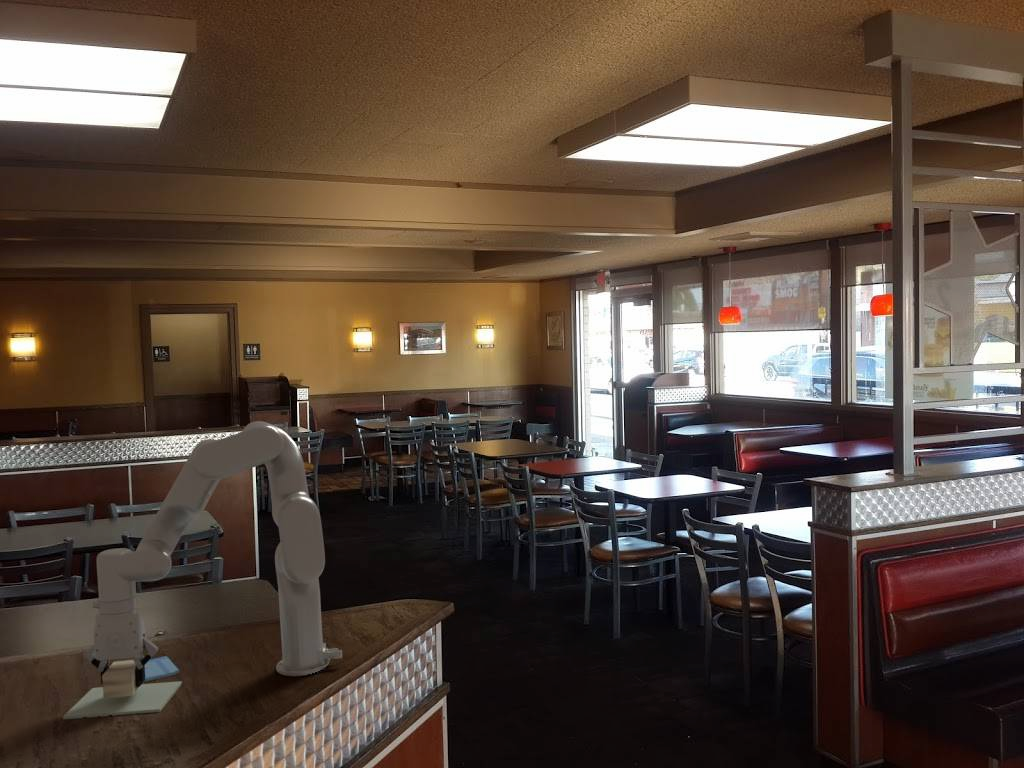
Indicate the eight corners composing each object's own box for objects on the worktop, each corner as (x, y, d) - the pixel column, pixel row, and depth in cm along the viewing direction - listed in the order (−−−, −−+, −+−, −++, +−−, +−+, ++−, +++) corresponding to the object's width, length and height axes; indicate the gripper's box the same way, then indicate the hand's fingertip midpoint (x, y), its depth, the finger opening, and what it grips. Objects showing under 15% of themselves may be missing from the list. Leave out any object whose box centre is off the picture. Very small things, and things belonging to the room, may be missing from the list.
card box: (132, 695, 195) (131, 672, 195) (103, 698, 194) (102, 675, 194) (143, 680, 204) (141, 658, 204) (115, 683, 203) (113, 661, 203)
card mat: (181, 683, 208) (181, 681, 208) (160, 711, 192) (159, 709, 192) (92, 690, 207) (92, 687, 206) (63, 719, 191) (62, 716, 191)
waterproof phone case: (179, 675, 215) (179, 670, 215) (126, 688, 208) (125, 683, 208) (166, 660, 226) (166, 655, 226) (115, 672, 219) (115, 667, 219)
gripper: (70, 613, 194) (76, 695, 195) (153, 608, 195) (158, 689, 196) (84, 603, 201) (90, 682, 202) (164, 598, 203) (169, 677, 203)
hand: (123, 685), depth 199 cm, fingers closed on card box, 6 cm apart
